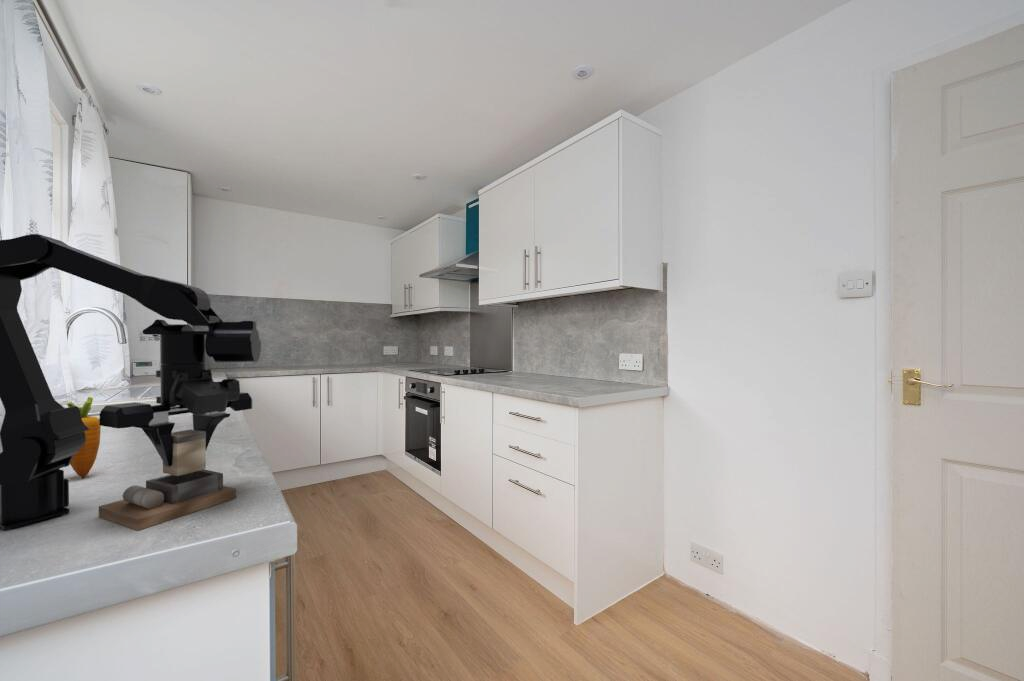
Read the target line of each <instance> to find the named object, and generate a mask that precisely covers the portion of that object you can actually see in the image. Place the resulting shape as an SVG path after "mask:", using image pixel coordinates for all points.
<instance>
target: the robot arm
mask: <svg viewBox="0 0 1024 681" xmlns="http://www.w3.org/2000/svg"><path fill="white" fill-rule="evenodd" d="M53 268H54V269H56V270H60V271H61V272H65V273H67V274H70V275H72V276H75V277H77V278H81V279H83V280H86V281H89V282H92V283H94V284H96V285H99V286H102V287H105V288H108V289H110V290H114V291H115V292H119V293H121V294H124V295H126V296H128V297H130V298H131V299H133V300H135V301H136V302H137V303H139V304H140V305H142V306H143V307H144V308H147V309H149V310H150V311H152V312H154V313H155V314H158V315H160V316H161V317H164V319H155V320H154V322H152V324H150V325H149V326H147V327H146V328H144V329H142V334H143V335H152V336H154V335H157V336H160V338H159V344H160V345H159V346H160V348H159V352H160V353H159V354H160V358H159V360H160V362H159V363H160V365H159V366H160V367H159V368H160V370H155V372H156V373H155V377H156V378H160V396H155V397H156V399H155V400H156V404H155V405H151V403H141V402H129V403H128V402H126V403H117V404H110V405H105V406H104V407H103V408H102V409H101V410H100V412H99V419H100V426H101V427H105V428H106V427H108V428H113V429H126V428H136V429H137V428H140V429H141V430H142V432H144V434H145V435H146V436H147V438H148V439H149V440H150V442H151V443H152V445H153V446H154V448H155V450H156V452H157V454H158V456H159V457H160V458H161V460H162V463H163V462H164V464H165V466H168V467H169V466H172V459H173V452H172V437H171V433H173V429H174V427H175V425H176V423H175V422H172V421H171V422H170V421H169V416H175V415H184V414H192V424H193V425H192V427H193V428H192V430H199V431H205V432H206V450H208V447H209V443H210V441H211V439H212V436H213V434H214V432H215V431H216V428H217V427H218V425H219V424H220V423H222V421H223V420H224V419H227V418H229V417H230V416H231V413H226V411H227V408H230V409H231V410H233V411H234V412H239V411H247V410H252V409H253V397H252V396H251V395H250V394H249V392H241V386H240V381H239V380H238V379H237V378H224V379H222V380H221V381H215V380H214V379H213V376H212V375H213V373H212V369H210V368H209V369H208V368H207V356H208V357H209V358H212V360H214V362H215V363H217V364H220V363H221V364H223V363H226V364H228V363H257V362H258V361H259V360H260V356H261V352H262V351H261V350H262V341H261V339H260V335H259V330H258V329H257V321H255V320H242V321H241V320H240V321H223V319H222V318H221V317H220V316H219V315H218V314H217V312H216V311H215V310H214V309H213V308H212V307H211V301H210V300H211V299H210V297H209V296H208V294H207V292H205V290H203V289H202V288H199V287H197V286H194V285H189V284H186V283H183V282H179V281H175V280H170V279H165V278H161V277H156V276H152V275H147V274H143V273H140V272H138V271H136V270H133V269H131V268H127V267H125V266H122V265H119V264H117V263H116V262H115V263H114V262H112V261H110V260H107V259H104V258H101V257H100V256H97V255H94V254H91V253H88V252H87V251H83V250H81V249H78V248H76V247H72V246H70V245H68V244H67V243H65V242H63V241H62V240H60V239H57V238H56V239H55V238H53V237H49V236H46V235H43V234H39V233H32V234H31V233H30V234H26V235H20V236H18V237H13V238H8V239H0V402H1V404H2V406H3V408H4V416H3V420H2V423H1V427H0V444H1V449H2V451H0V529H1V530H11V529H14V528H17V527H23V526H25V525H30V524H33V523H37V522H40V521H44V520H47V519H52V518H55V517H59V516H63V515H66V514H67V515H68V513H70V511H71V510H70V508H67V507H68V506H70V489H69V488H70V486H69V485H70V483H69V482H70V480H69V479H68V478H65V474H64V473H65V471H64V470H63V469H62V468H68V467H69V466H71V465H70V463H71V461H72V458H73V456H74V454H76V453H77V452H78V451H79V450H80V449H81V447H82V446H83V444H84V443H85V440H86V436H85V432H84V431H87V430H89V428H88V427H87V426H86V425H84V423H83V421H82V418H81V413H80V410H79V406H77V405H75V406H73V407H69V406H68V407H64V405H62V404H60V403H59V402H58V401H56V400H55V398H54V396H53V394H52V392H51V389H50V387H49V385H48V382H47V380H46V377H45V374H44V372H43V369H42V368H41V364H40V362H39V360H38V357H37V354H36V353H35V350H34V347H33V346H32V342H31V340H30V338H29V335H28V332H27V331H26V328H25V326H24V323H23V321H22V319H21V316H20V314H19V311H18V305H19V300H20V298H21V295H22V293H23V292H22V291H23V289H22V283H21V281H24V280H28V279H32V278H35V277H37V276H39V275H40V274H42V273H44V272H45V271H47V270H49V269H53ZM165 319H168V320H174V321H183V322H184V323H187V324H179V323H178V324H176V323H175V324H172V323H170V324H169V323H168V322H167V321H166V320H165ZM192 326H194V327H203V328H205V327H206V328H208V330H194V329H193V327H192Z"/></svg>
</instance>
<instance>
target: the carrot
mask: <svg viewBox="0 0 1024 681" xmlns="http://www.w3.org/2000/svg"><path fill="white" fill-rule="evenodd" d="M93 401H94V398H93V397H91V396H88V397H87V399H86V401H85V402H84V403H83V405H82V406H81V407H80V406H78V408H79V410H80V413H81V418H82V421H83V423H84V425H86V426H87V427H88V428H89V430H87V431H84V432H85V436H86V440H85V443H84V444H83V446H82V447H81V449H80V450H79V451H78V452H77V453H76V454H74V456H73V458H72V461H71V463H70V465H69V466H71V468H72V470H73V471H74V472H75V473H76V475H77V476H78V477H80V478H85V477H86V476H87V475H89V473H90V471H91V470H92V468H93V466H94V464H95V462H96V460H97V456H98V453H99V449H100V443H101V427H102V426H100V417H97V416H92V415H91V416H90V415H89V416H88V414H89V412H90V411H91V409H92V404H93ZM66 405H67V406H68V407H73V406H76V404H75V403H74V402H72V401H68V402H67V403H66Z"/></svg>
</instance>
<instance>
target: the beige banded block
mask: <svg viewBox="0 0 1024 681" xmlns="http://www.w3.org/2000/svg"><path fill="white" fill-rule="evenodd" d="M171 437H172V452H173V459H172V466H169V467H168V466H165V464H164V462H163V461H162V473H164V474H167V475H175V476H180V475H184V474H188V473H192V472H195V471H199V470H203V469H204V470H207V469H206V468H207V463H206V461H207V458H206V456H207V454H206V451H207V449H206V432H205V431H199V430H193V428H192V429H191V428H190V429H186V430H180V431H172V432H171Z"/></svg>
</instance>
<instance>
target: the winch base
mask: <svg viewBox="0 0 1024 681" xmlns="http://www.w3.org/2000/svg"><path fill="white" fill-rule="evenodd" d="M236 498H237V488H233V487H229V486H226V485H224V473H222V472H217V471H213V470H208V469H203V470H199V471H195V472H192V473H188V474H184V475H180V476H175V475H170V474H167V475H164V476H163V475H162V476H160V477H156V478H151V479H148V480H145V487H143V486H140V485H136V484H135V485H131V486H129V487H127V488H126V489H125V490H124V492H123V494H122V499H120V500H117V501H114V502H109V503H107V504H102V505H99V506H98V517H99V518H102V519H105V520H107V521H109V522H113V523H115V524H118V525H121V526H124V527H127V528H129V529H132V530H136V531H142V530H144V529H147V528H150V527H153V526H156V525H159V524H162V523H165V522H166V523H167V522H168V521H171V520H175V519H177V518H181V517H183V516H186V515H189V514H192V513H196V512H198V511H201V510H204V509H207V508H211V507H213V506H216V505H220V504H223V503H226V502H228V501H231V500H235V499H236Z"/></svg>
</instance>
